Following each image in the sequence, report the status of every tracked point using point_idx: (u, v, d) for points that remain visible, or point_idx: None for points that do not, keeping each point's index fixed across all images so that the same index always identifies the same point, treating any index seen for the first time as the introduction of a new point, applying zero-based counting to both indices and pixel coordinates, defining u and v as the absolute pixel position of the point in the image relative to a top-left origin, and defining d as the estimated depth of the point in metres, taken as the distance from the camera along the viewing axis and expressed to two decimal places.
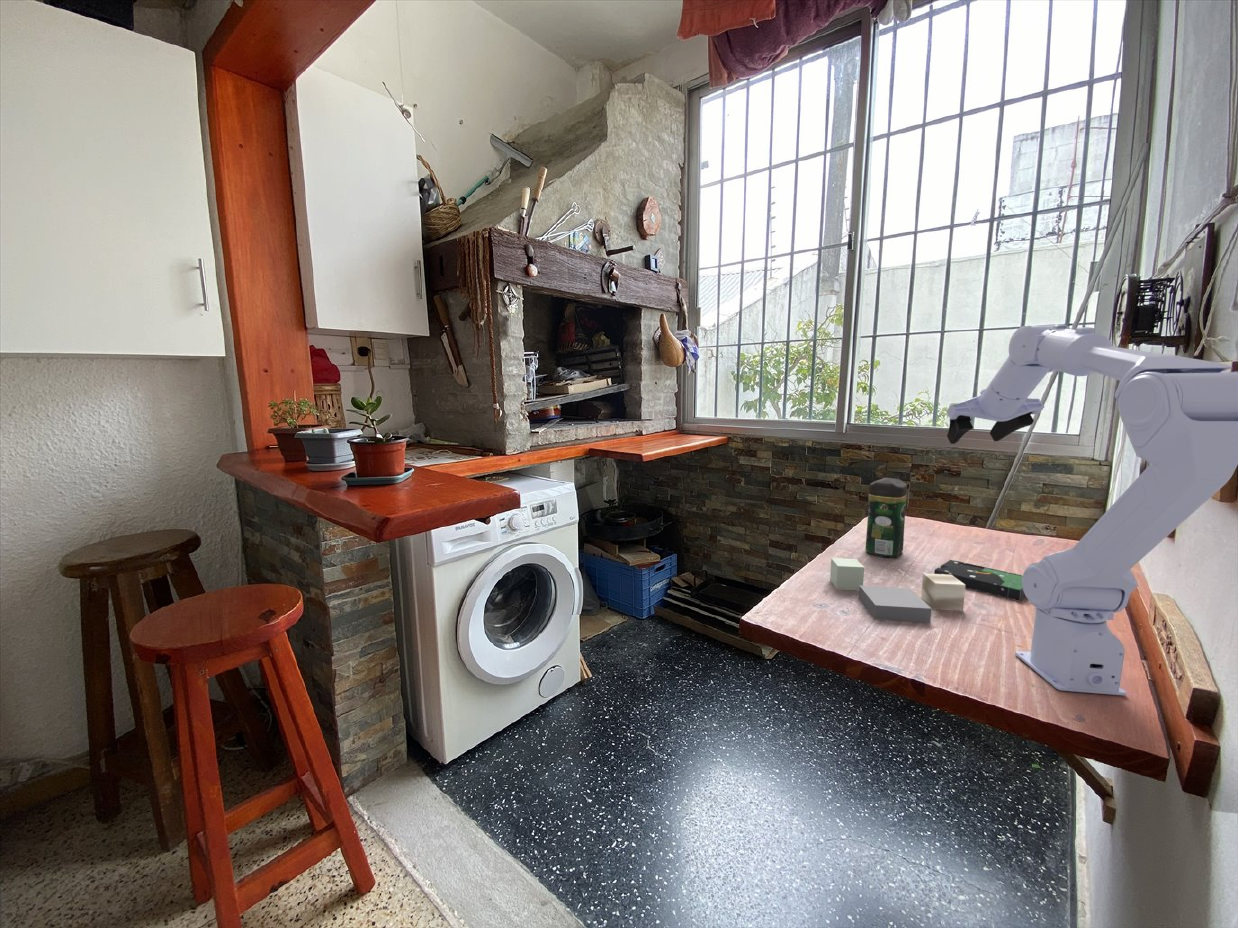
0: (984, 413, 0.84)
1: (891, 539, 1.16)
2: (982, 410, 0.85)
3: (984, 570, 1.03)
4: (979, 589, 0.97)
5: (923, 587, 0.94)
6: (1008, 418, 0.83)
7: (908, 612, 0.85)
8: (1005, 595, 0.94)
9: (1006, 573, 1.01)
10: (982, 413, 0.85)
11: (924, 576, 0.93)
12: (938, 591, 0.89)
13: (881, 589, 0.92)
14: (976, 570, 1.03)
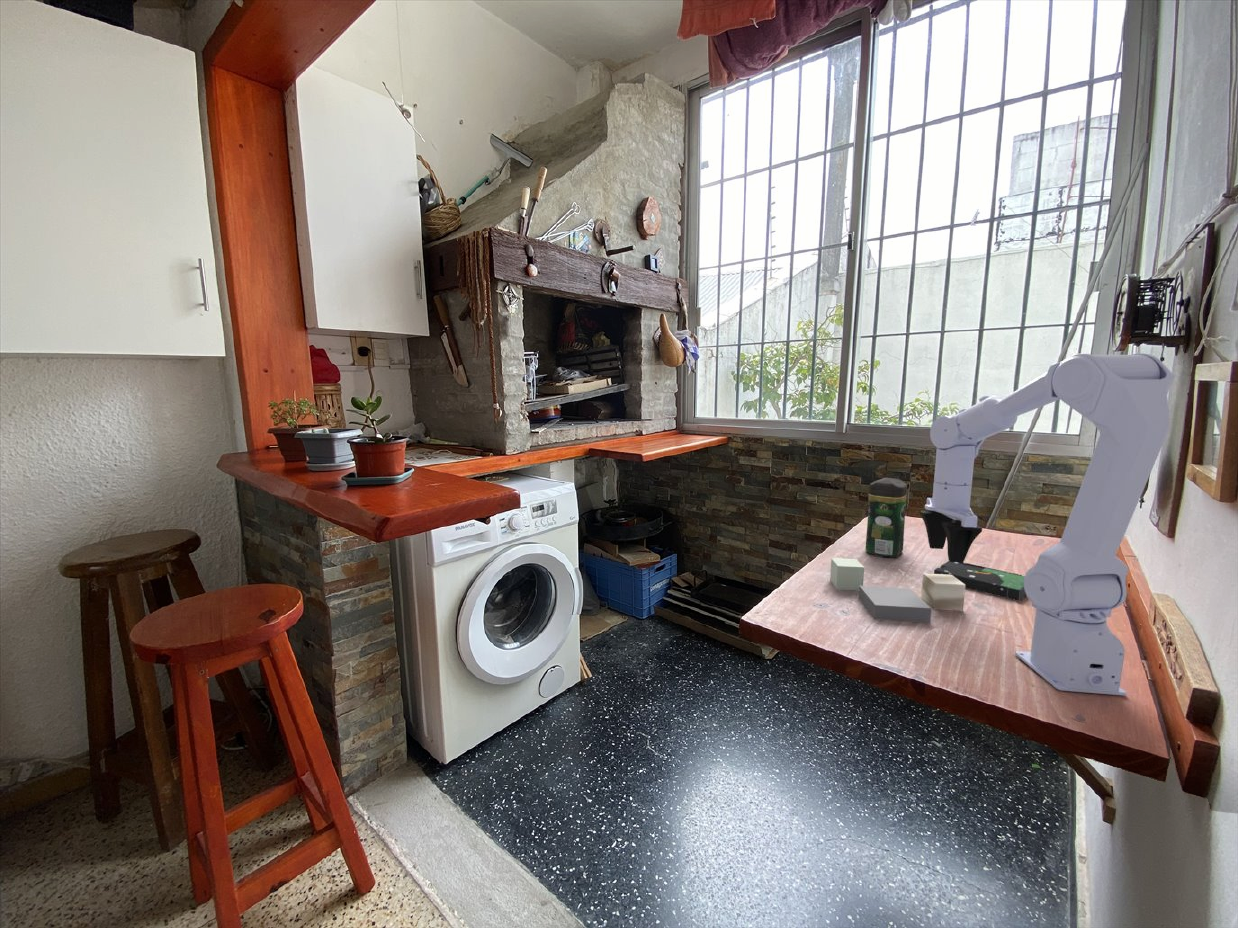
0: (966, 510, 0.86)
1: (891, 539, 1.16)
2: (963, 510, 0.86)
3: (984, 570, 1.03)
4: (979, 589, 0.98)
5: (923, 587, 0.94)
6: None
7: (908, 612, 0.85)
8: (1004, 595, 0.94)
9: (1006, 573, 1.01)
10: (966, 511, 0.86)
11: (924, 576, 0.93)
12: (938, 591, 0.89)
13: (881, 589, 0.92)
14: (976, 570, 1.03)
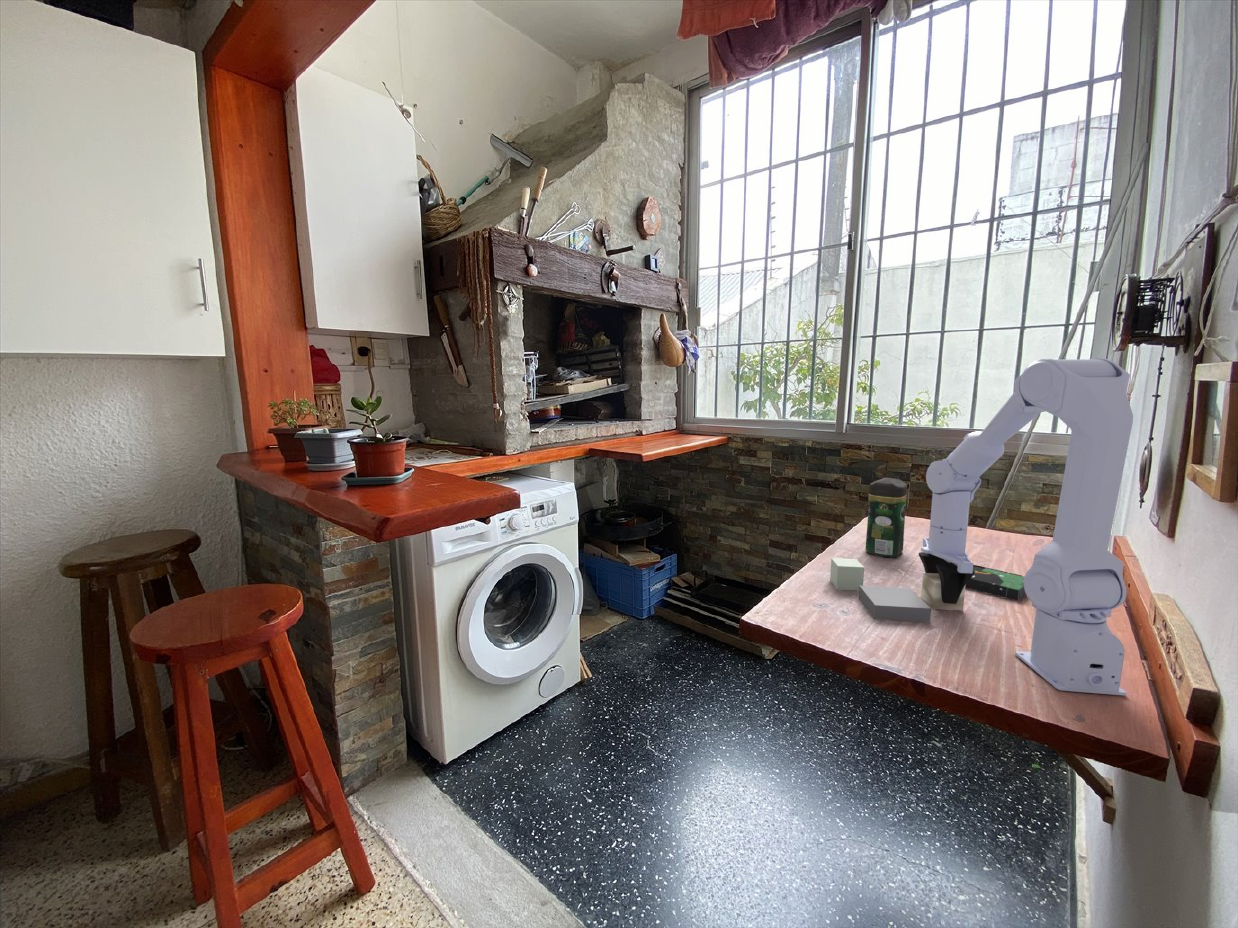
0: (962, 554, 0.87)
1: (891, 539, 1.16)
2: (959, 554, 0.87)
3: (984, 570, 1.03)
4: (978, 589, 0.98)
5: (923, 586, 0.94)
6: None
7: (907, 612, 0.85)
8: (1004, 595, 0.94)
9: (1006, 573, 1.01)
10: (962, 555, 0.87)
11: (924, 575, 0.93)
12: (938, 590, 0.89)
13: (881, 589, 0.92)
14: (976, 570, 1.03)
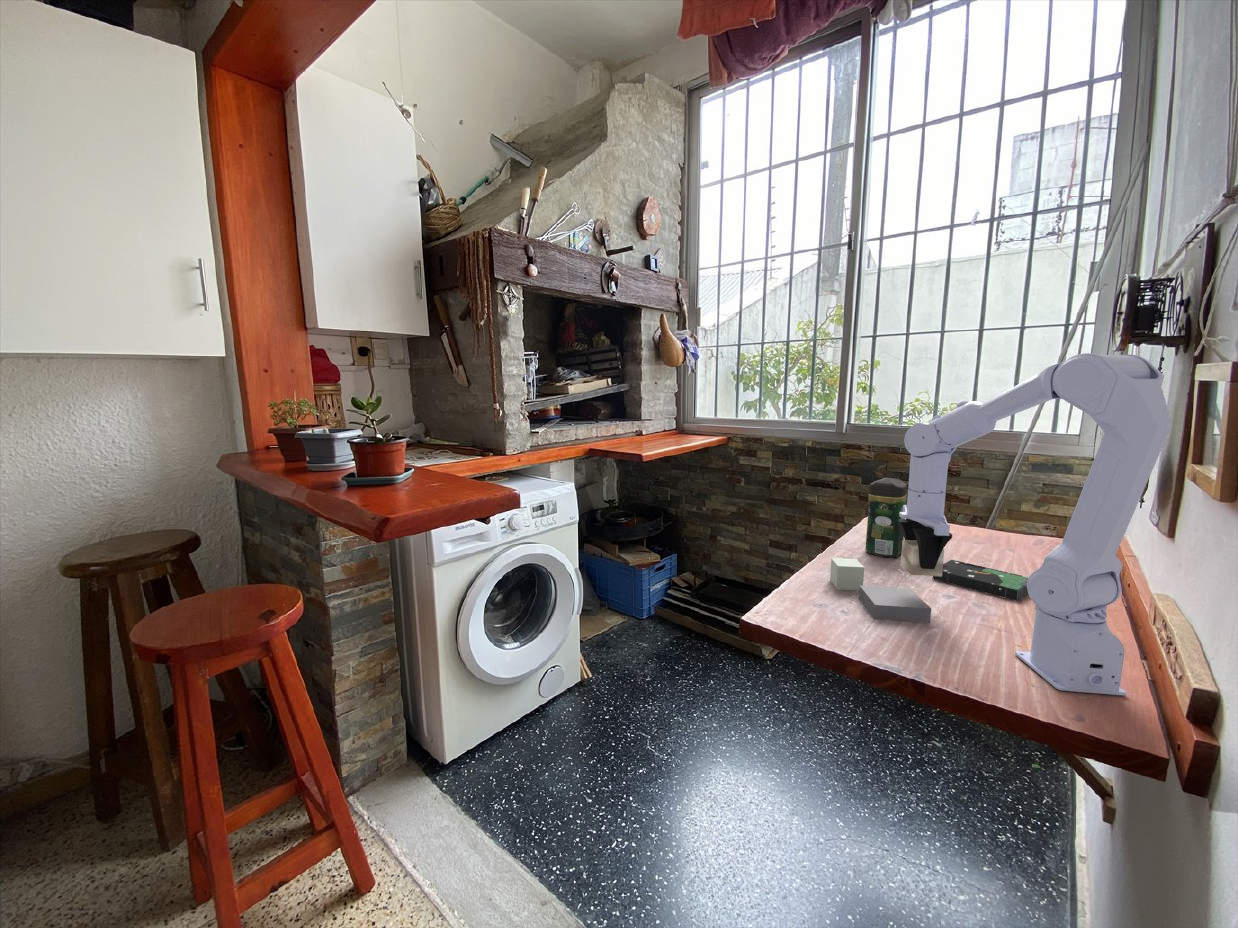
0: (940, 518, 0.85)
1: (891, 539, 1.16)
2: (936, 518, 0.85)
3: (984, 570, 1.03)
4: (977, 589, 0.98)
5: (903, 553, 0.91)
6: None
7: (907, 612, 0.85)
8: (1003, 595, 0.94)
9: (1006, 573, 1.01)
10: (940, 519, 0.85)
11: (903, 542, 0.91)
12: (916, 556, 0.87)
13: (881, 589, 0.92)
14: (976, 570, 1.03)
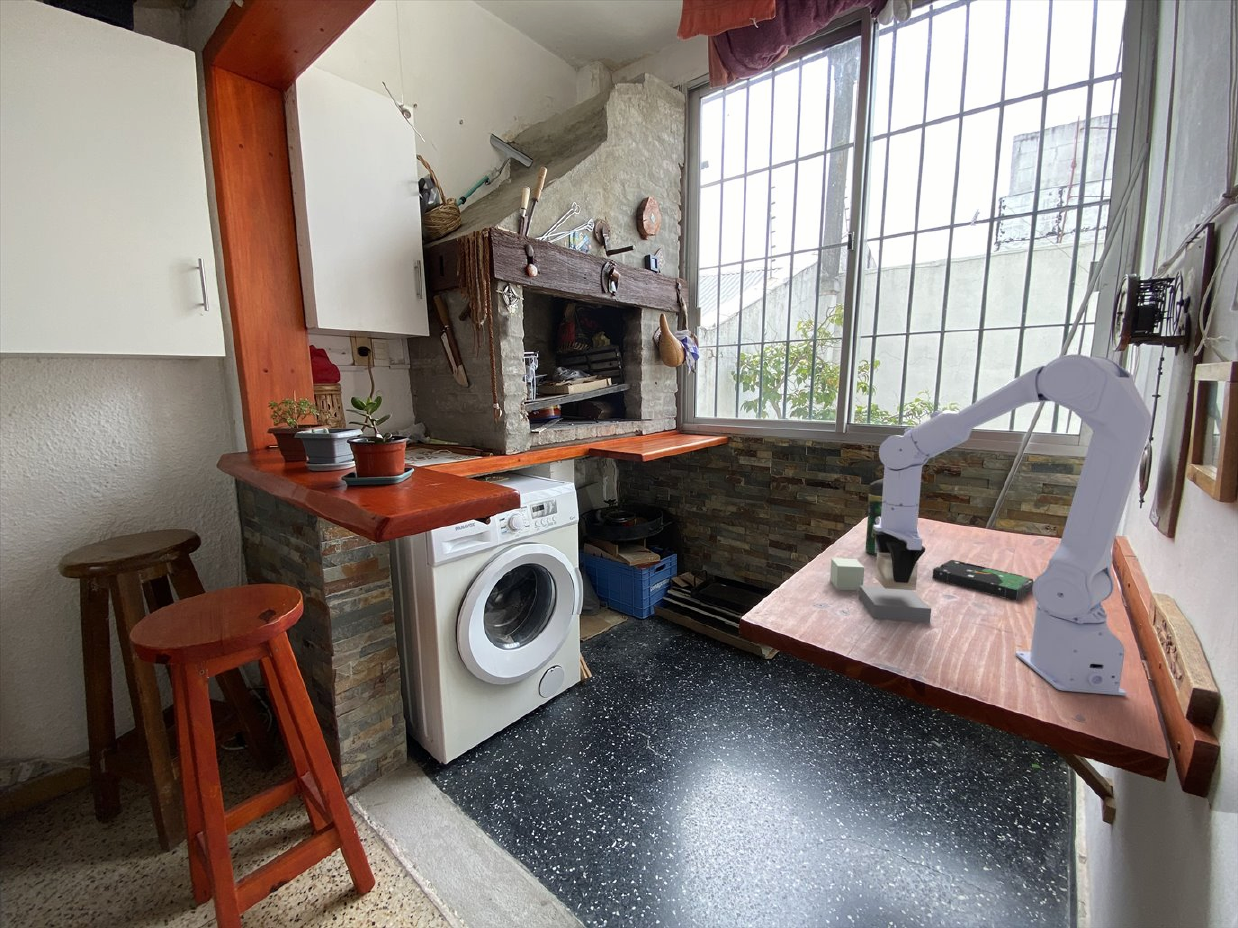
0: (913, 531, 0.84)
1: None
2: (910, 531, 0.84)
3: (984, 570, 1.03)
4: (977, 589, 0.98)
5: (877, 566, 0.91)
6: None
7: (907, 612, 0.85)
8: (1002, 595, 0.94)
9: (1006, 573, 1.01)
10: (913, 533, 0.84)
11: (878, 555, 0.90)
12: (890, 569, 0.86)
13: (881, 589, 0.92)
14: (976, 570, 1.03)
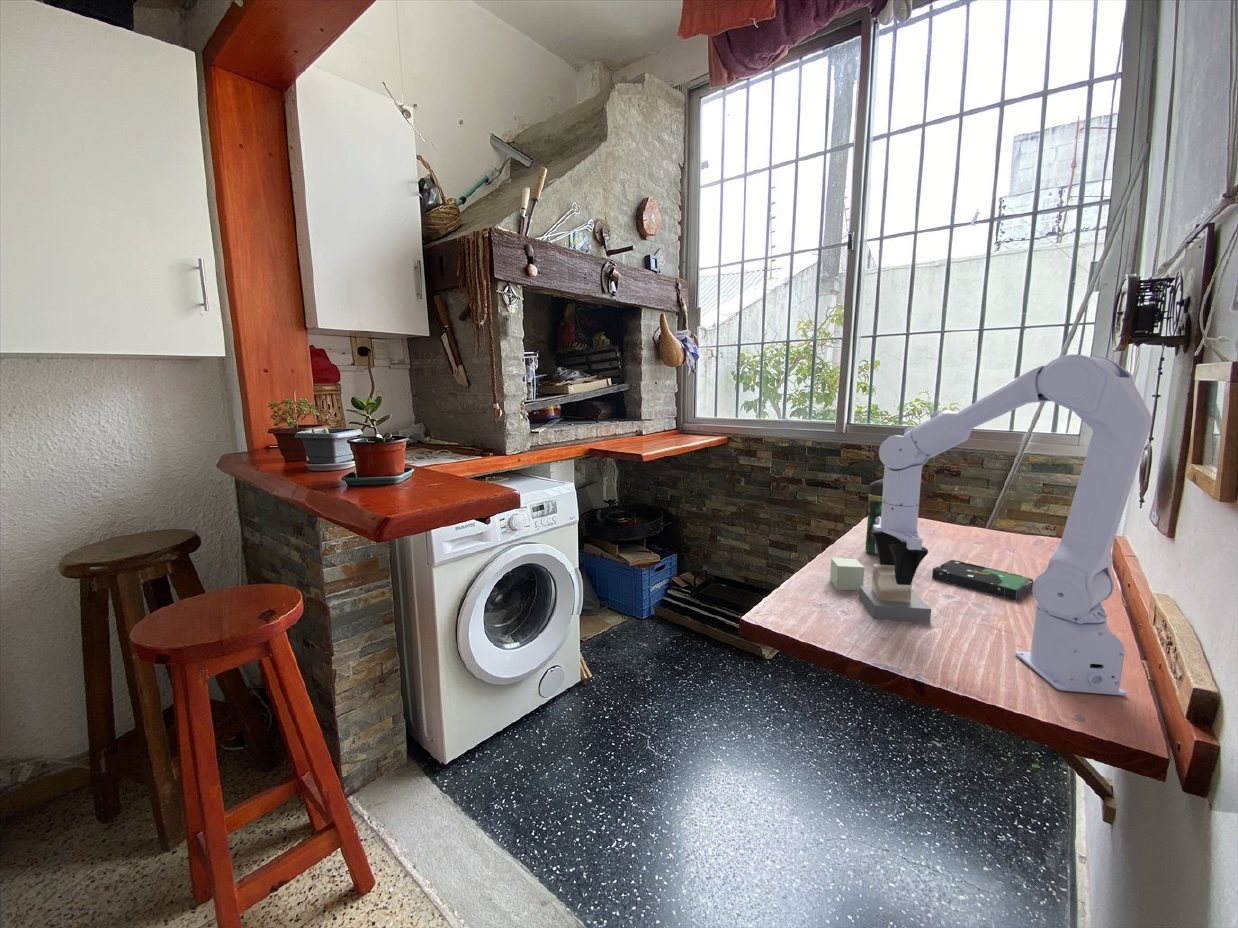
0: (913, 531, 0.84)
1: None
2: (910, 531, 0.84)
3: (984, 570, 1.03)
4: (976, 588, 0.98)
5: (873, 578, 0.91)
6: None
7: (907, 613, 0.85)
8: (1001, 595, 0.94)
9: (1006, 573, 1.01)
10: (913, 533, 0.84)
11: (874, 567, 0.91)
12: (884, 582, 0.87)
13: None
14: (976, 570, 1.03)
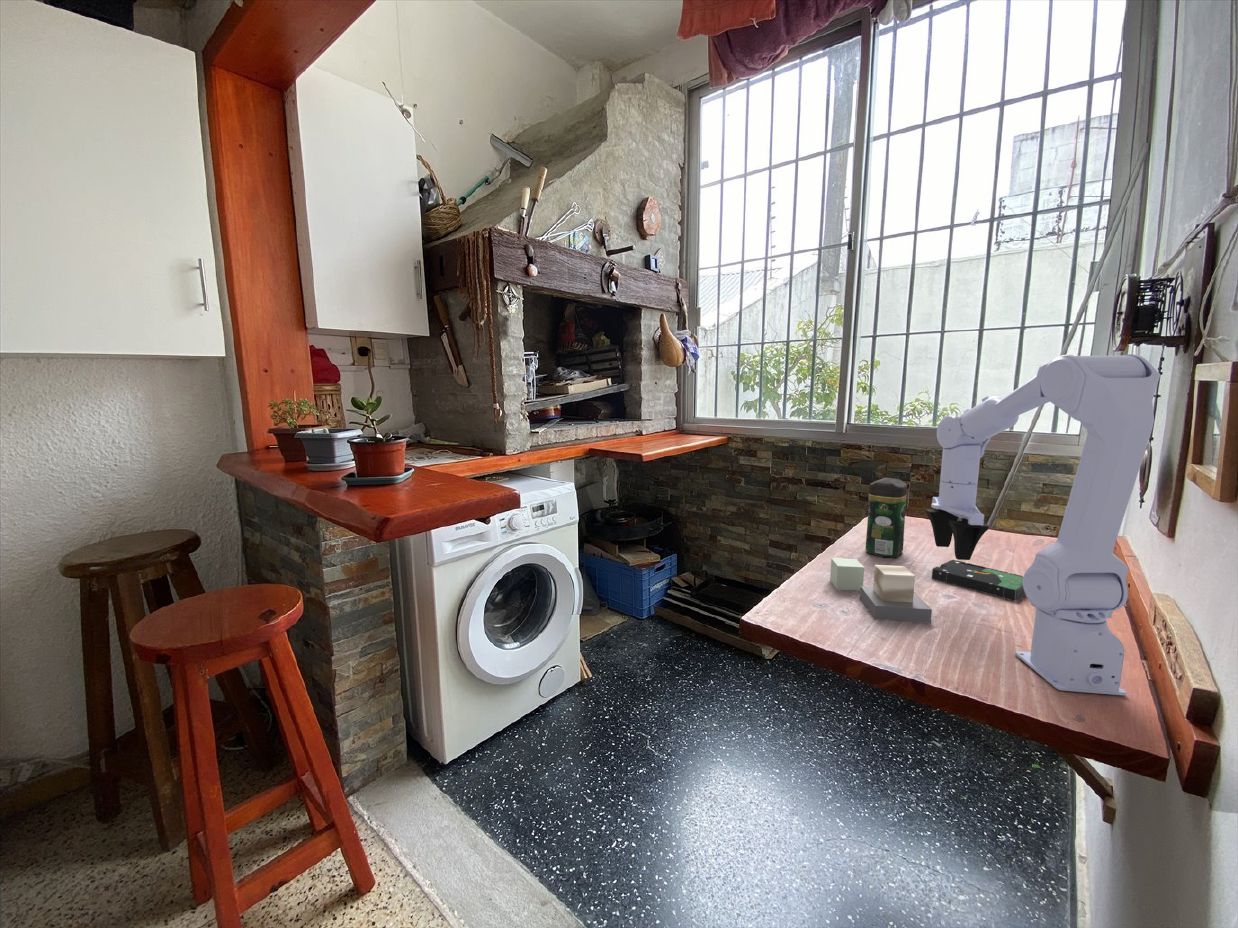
0: (973, 509, 0.88)
1: (891, 539, 1.16)
2: (969, 508, 0.88)
3: (984, 570, 1.03)
4: (975, 588, 0.98)
5: (875, 578, 0.91)
6: None
7: (908, 613, 0.85)
8: (1000, 595, 0.94)
9: (1006, 573, 1.01)
10: (972, 510, 0.88)
11: (875, 567, 0.91)
12: (887, 582, 0.87)
13: None
14: (976, 570, 1.03)
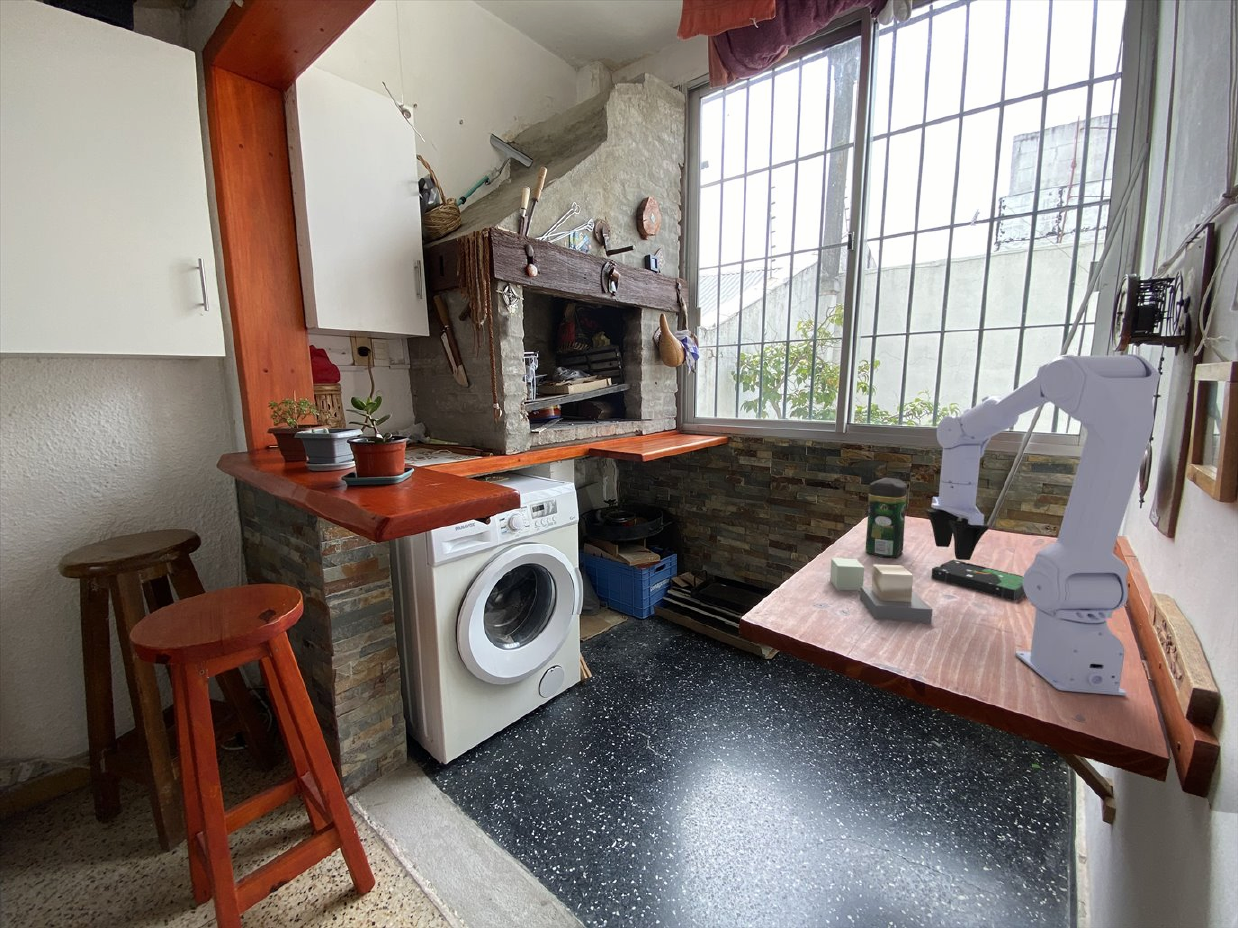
0: (973, 509, 0.88)
1: (891, 539, 1.16)
2: (969, 508, 0.88)
3: (984, 570, 1.03)
4: (975, 588, 0.98)
5: (873, 578, 0.91)
6: None
7: (908, 613, 0.85)
8: (1000, 595, 0.94)
9: (1006, 574, 1.01)
10: (972, 510, 0.88)
11: (874, 567, 0.91)
12: (885, 582, 0.87)
13: None
14: (976, 570, 1.03)
